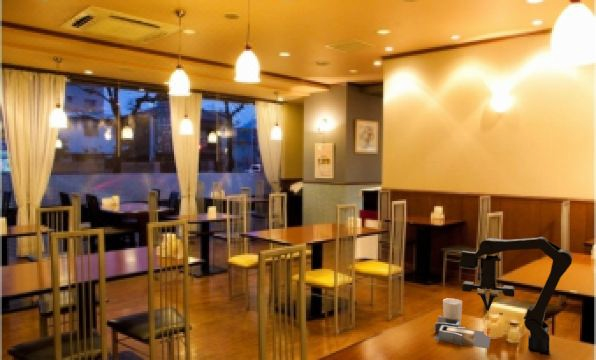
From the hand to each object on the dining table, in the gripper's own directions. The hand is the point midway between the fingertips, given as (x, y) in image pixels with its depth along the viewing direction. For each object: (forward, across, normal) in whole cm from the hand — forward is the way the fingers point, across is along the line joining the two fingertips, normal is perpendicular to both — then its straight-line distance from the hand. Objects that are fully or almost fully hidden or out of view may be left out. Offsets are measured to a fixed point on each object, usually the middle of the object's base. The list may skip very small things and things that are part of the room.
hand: (487, 310), depth 179 cm
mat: (+12, +9, 0) cm, 15 cm away
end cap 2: (+12, +13, +6) cm, 18 cm away
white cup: (+12, +15, -13) cm, 23 cm away
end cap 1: (+12, +15, -3) cm, 20 cm away
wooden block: (+12, +9, +6) cm, 16 cm away
